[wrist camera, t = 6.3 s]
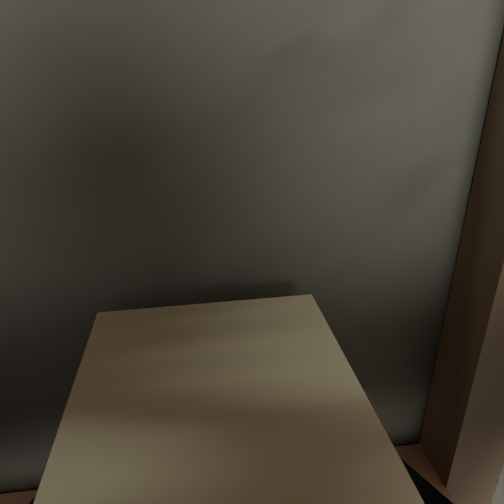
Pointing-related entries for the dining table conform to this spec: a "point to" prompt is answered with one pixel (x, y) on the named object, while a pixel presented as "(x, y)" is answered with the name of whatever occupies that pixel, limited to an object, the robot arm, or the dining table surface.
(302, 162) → the dining table surface
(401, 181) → the dining table surface
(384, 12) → the dining table surface
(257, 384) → the block
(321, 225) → the dining table surface
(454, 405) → the guide track
